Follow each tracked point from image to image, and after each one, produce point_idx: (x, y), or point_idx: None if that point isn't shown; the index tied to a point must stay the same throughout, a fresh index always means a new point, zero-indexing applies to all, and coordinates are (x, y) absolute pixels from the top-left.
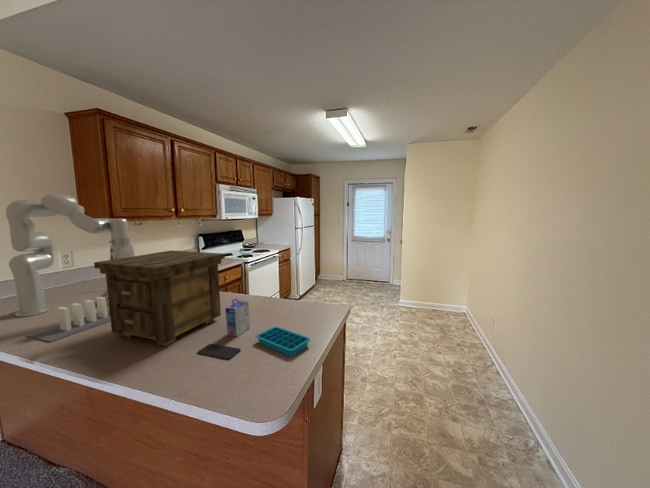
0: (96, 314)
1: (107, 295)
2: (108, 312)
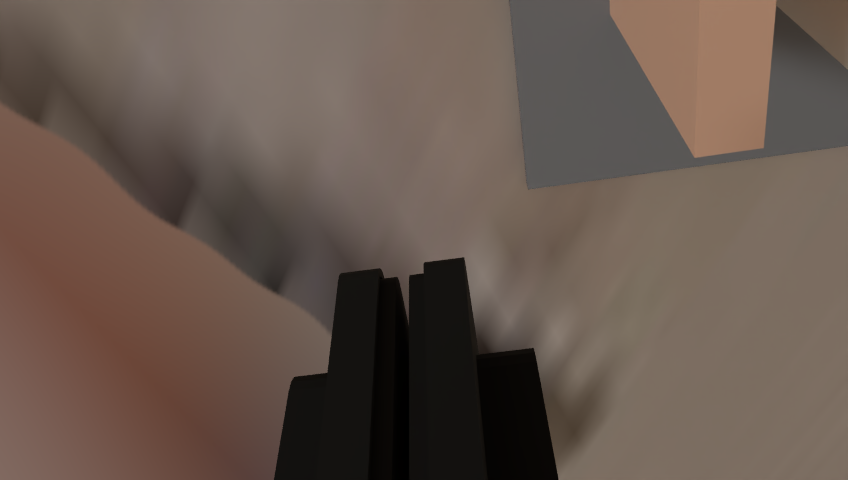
0: None
1: (761, 117)
2: None
